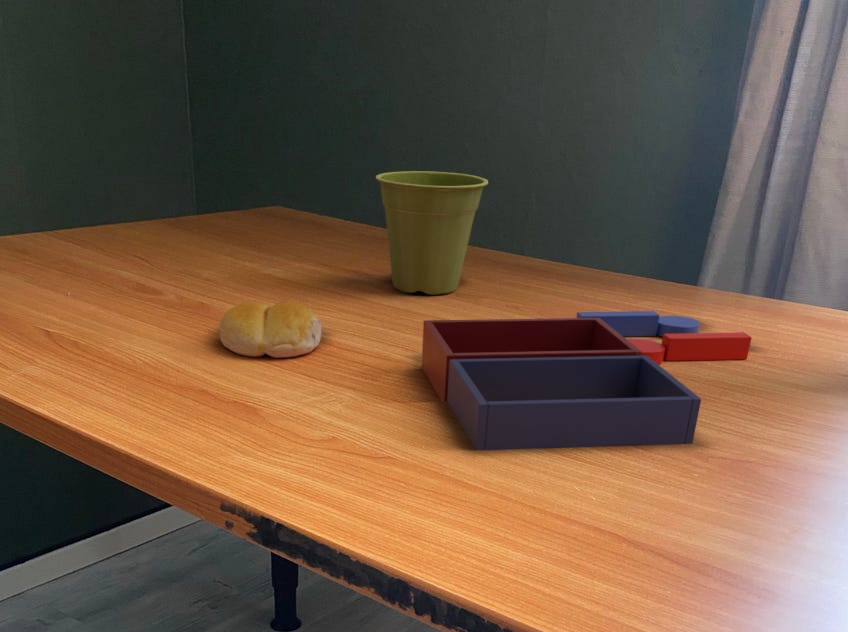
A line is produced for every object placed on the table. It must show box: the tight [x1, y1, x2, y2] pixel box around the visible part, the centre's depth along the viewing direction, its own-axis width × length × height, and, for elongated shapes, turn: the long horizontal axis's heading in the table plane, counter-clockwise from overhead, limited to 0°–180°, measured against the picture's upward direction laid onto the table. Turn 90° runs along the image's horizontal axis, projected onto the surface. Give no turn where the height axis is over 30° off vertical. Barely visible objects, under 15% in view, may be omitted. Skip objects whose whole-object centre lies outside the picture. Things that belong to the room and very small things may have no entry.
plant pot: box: [375, 170, 489, 296], centre depth 107 cm, size 12×12×11 cm
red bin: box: [421, 317, 642, 403], centre depth 80 cm, size 15×10×4 cm
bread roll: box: [218, 299, 323, 359], centre depth 88 cm, size 8×9×4 cm
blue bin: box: [446, 356, 702, 452], centre depth 71 cm, size 15×10×4 cm
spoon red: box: [627, 331, 752, 365], centre depth 88 cm, size 12×4×2 cm, turn 97°
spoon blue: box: [576, 310, 701, 338], centre depth 95 cm, size 12×4×2 cm, turn 97°
